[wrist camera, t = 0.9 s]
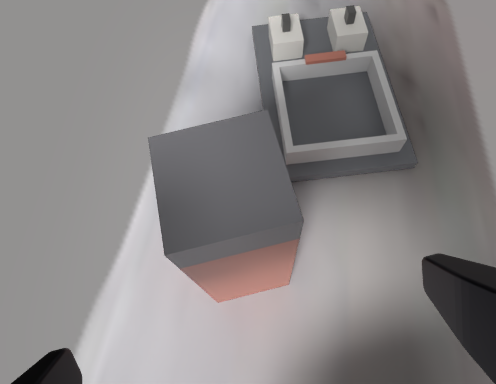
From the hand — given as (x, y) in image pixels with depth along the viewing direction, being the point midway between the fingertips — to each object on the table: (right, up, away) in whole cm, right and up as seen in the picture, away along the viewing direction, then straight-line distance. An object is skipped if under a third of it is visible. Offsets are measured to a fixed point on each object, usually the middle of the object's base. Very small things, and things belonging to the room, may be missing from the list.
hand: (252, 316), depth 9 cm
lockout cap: (0, -1, +14) cm, 15 cm away
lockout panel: (+6, +11, +20) cm, 23 cm away
